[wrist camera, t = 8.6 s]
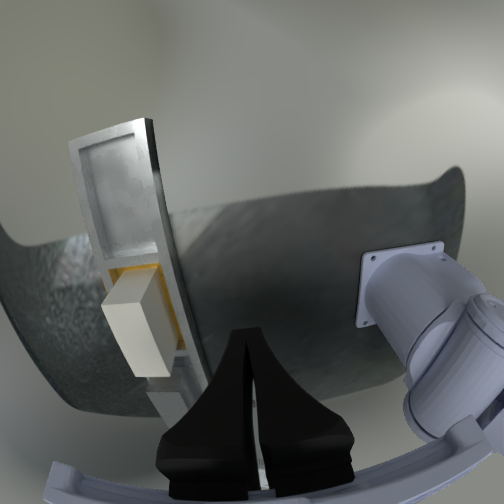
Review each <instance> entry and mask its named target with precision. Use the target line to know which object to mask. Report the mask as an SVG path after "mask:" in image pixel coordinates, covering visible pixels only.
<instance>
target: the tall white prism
mask: <svg viewBox="0 0 504 504" xmlns="http://www.w3.org/2000/svg"><path fill="white" fill-rule="evenodd" d="M101 307H102V309H103V312H104V314H105V316H106V318H107V321H108V323H109V325H110V327H111V329H112V332H113V334H114V336H115V338H116V340H117V342H118V344H119V346H120V348H121V350H122V352H123V354H124V356H125V358H126V360H127V362H128V363H129V365H130V367H131V369H132V371H133V373H134V374H135V376H136V377H170V376H171V371H172V366H173V361H174V356H175V351H176V346H177V342H178V337H179V335H178V332H177V329H176V326H175V323H174V320H173V317H172V314H171V311H170V308H169V304H168V301H167V298H166V295H165V291H164V288H163V285H162V281H161V278H160V274H159V271H158V267H151V268H144V269H136V270H128V271H124V272H123V273H122V275H121V276H120V277H119V279H118V280H117V282H116V283H115V285H114V286H113V288H112V289H111V291H110V292H109V294H108V295H107V297H106V298H105V300H104V301H103V303H102V304H101Z"/></svg>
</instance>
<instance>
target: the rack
mask: <svg viewBox="0 0 504 504" xmlns="http://www.w3.org/2000/svg"><path fill="white" fill-rule="evenodd" d="M68 144H69V151H70V157H71V163H72V168H73V174H74V179H75V184H76V189H77V193H78V198H79V202H80V206H81V211H82V214H83V218H84V222H85V226H86V229H87V233H88V236H89V240H90V243H91V247H92V250H93V253H94V256H95V259H96V262H97V265H98V268H99V271H100V274H101V277H102V279H103V282H104V286H105V289H106V292H107V294H109V292H110V291H111V289H112V288H113V286H114V285H115V283H116V282H117V280H118V279H119V277H120V276H121V275H122V273H123V272H124V271H128V270H136V269H144V268H151V267H158V271H159V274H160V278H161V281H162V285H163V288H164V291H165V295H166V298H167V301H168V304H169V308H170V311H171V314H172V317H173V320H174V323H175V326H176V329H177V332H178V335H179V337H178V342H177V346H176V351H175V356H174V361H173V366H172V371H171V376H170V377H146V378H147V380H148V381H149V383H148V386H147V390H146V393H147V395H148V396H149V398H150V399H151V401H152V403H153V404H154V406H155V407H156V409H157V411H158V412H159V414H160V415H161V417H162V418H163V420H164V421H165V423H166V424H167V426H168V427H169V429H170V428H171V427H173V426H174V425H175V424H176V423H177V422H178V421H179V420H180V419H181V418H182V417H183V416H184V415H185V414H186V413H187V412H188V411H189V409H190V408H191V407H192V406H193V405H194V404H195V402H196V401H197V400H198V398H199V397H200V396H201V394H202V393H203V392H204V390H205V389H206V387H207V386H208V384H209V382H210V381H211V379H212V377H211V374H210V371H209V368H208V365H207V362H206V359H205V356H204V353H203V349H202V346H201V343H200V340H199V336H198V333H197V329H196V326H195V322H194V319H193V315H192V312H191V308H190V305H189V301H188V297H187V293H186V290H185V286H184V282H183V278H182V274H181V270H180V266H179V261H178V257H177V253H176V249H175V244H174V240H173V235H172V231H171V226H170V221H169V216H168V211H167V207H166V201H165V196H164V192H163V186H162V179H161V174H160V168H159V162H158V156H157V150H156V142H155V135H154V128H153V120H152V119H148V118H141V119H137V120H133V121H129V122H126V123H122V124H119V125H115V126H112V127H109V128H106V129H103V130H100V131H96V132H93V133H91V134H88V135H85V136H82V137H79V138H77V139H74V140H71V141H69V142H68Z"/></svg>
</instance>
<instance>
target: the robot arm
mask: <svg viewBox="0 0 504 504" xmlns="http://www.w3.org/2000/svg"><path fill="white" fill-rule="evenodd" d="M432 247H433V248H432ZM443 249H444V243H443V242H441V241H436V242H430V243H423V244H417V245H411V246H404V247H398V248H392V249H385V250H378V251H372V252H366V253H364V254H363V256H362V260H361V274H360V285H359V295H358V305H357V313H356V321H355V325H356V326H357V327H358V328H361V327H366V326H370V325H374V324H377V325H378V327H379V328H380V330H381V331H382V333H383V334H384V336H385V338H386V339H387V341H388V342H389V344H390V345H391V347H392V348H393V350H394V351H395V353H396V354H397V356H398V358H399V359H400V361H401V362H402V364H403V366H404V367H405V369H406V370H407V374H406V376H405V378H404V380H403V381H404V383H405V384H406V386H407V388H408V390H409V391H408V393H407V394H406V396H405V398H404V402H403V411H404V415H405V418H406V421H407V423H408V425H409V426H410V428H411V429H412V431H413V432H414V433H415V434H416V435H417V436H418V437H419V438H420V439H422V440H423V441H425V442H427V443H428V444H426V445H424V446H422V447H419V448H417V449H415V450H413V451H411V452H408V453H406V454H404V455H402V456H399V457H396V458H394V459H391V460H389V461H386V462H383V463H381V464H378V465H375V466H372V467H369V468H366V469H363V470H360V471H357V472H354V471H353V468H352V465H351V462H352V458H351V455H350V451H351V449H352V446H353V444H354V437H353V434H352V432H351V430H350V428H349V427H348V425H347V424H346V422H345V421H344V419H343V418H342V417H341V416H339V415H338V414H336V413H334V412H333V411H331V410H330V409H328V408H326V407H325V406H323V405H322V404H321V403H319V402H318V401H317V400H315V399H314V398H313V397H312V396H311V395H310V394H308V393H307V392H306V391H305V390H304V389H303V388H301V387H300V386H299V385H298V384H297V383H296V382H295V381H294V379H293V378H292V377H291V376H290V375H289V374H288V373H287V372H286V370H285V369H284V368H283V367H282V365H281V364H280V363H279V361H278V360H277V358H276V357H275V355H274V354H273V352H272V351H271V349H270V347H269V346H268V344H267V342H266V340H265V338H264V335H263V333H262V330H261V328H260V327H255V328H247V329H239V330H232V331H231V332H230V337H229V341H228V344H227V347H226V349H225V352H224V354H223V357H222V359H221V361H220V364H219V366H218V368H217V370H216V371H215V373H214V375H213V377H212V379H211V381H210V382H209V384H208V386H207V387H206V389H205V390H204V392H203V393H202V394H201V396H200V397H199V398H198V400H197V401H196V402H195V404H194V405H193V406H192V407H191V408H190V409H189V411H188V412H187V413H186V414H185V415H184V416H183V417H182V418H181V419H180V420H179V421H178V422H177V423H176V424H175V425H174V426H173V427H171V428H170V429H169V430H168V431H167V432H166V433H164V434H163V435H162V437H161V440H160V443H159V447H158V450H157V457H156V468H157V469H158V470H159V471H160V472H161V473H162V474H163V475H164V476H166V477H167V478H168V479H169V480H170V484H169V490H159V489H151V488H144V487H137V486H132V485H126V484H121V483H116V482H111V481H106V480H103V479H98V478H95V477H91V476H88V475H84V474H82V473H81V472H80V471H79V470H78V469H76V468H74V467H72V466H69V465H66V464H63V463H61V462H58V461H53V464H52V467H51V470H50V474H49V477H48V480H47V484H46V488H45V492H44V495H43V500H44V501H46V502H48V503H50V504H415V503H417V502H419V501H421V500H423V499H425V498H427V497H429V496H431V495H432V494H434V493H436V492H438V491H440V490H441V489H443V488H445V487H447V486H448V485H450V484H451V483H453V482H455V481H456V480H458V479H460V478H461V477H463V476H464V475H466V474H467V473H468V472H470V471H471V470H472V469H474V468H475V467H476V466H477V465H478V464H480V463H481V462H482V461H483V460H484V459H485V458H487V457H488V456H489V455H490V454H491V453H496V452H500V453H501V454H502V455H504V301H502V300H500V299H498V298H497V297H495V296H492V295H490V294H487V292H486V290H485V287H484V285H483V284H482V282H481V281H480V280H479V279H478V278H477V277H476V276H475V275H474V274H472V273H471V272H470V271H468V270H467V269H466V268H465V267H463V266H462V265H460V264H459V263H458V262H456V261H455V260H454V259H452V258H451V257H449V256H448V255H447V254H445V253H444V252H443ZM372 256H374V258H373V259H371V257H372ZM365 321H366V322H365ZM253 381H254V385H255V393H256V406H257V420H258V436H259V444H260V448H261V452H262V456H263V460H264V465H265V474H266V479H267V482H268V485H269V490H261V485H260V478H259V471H258V463H257V455H256V446H255V437H254V428H253Z"/></svg>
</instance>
